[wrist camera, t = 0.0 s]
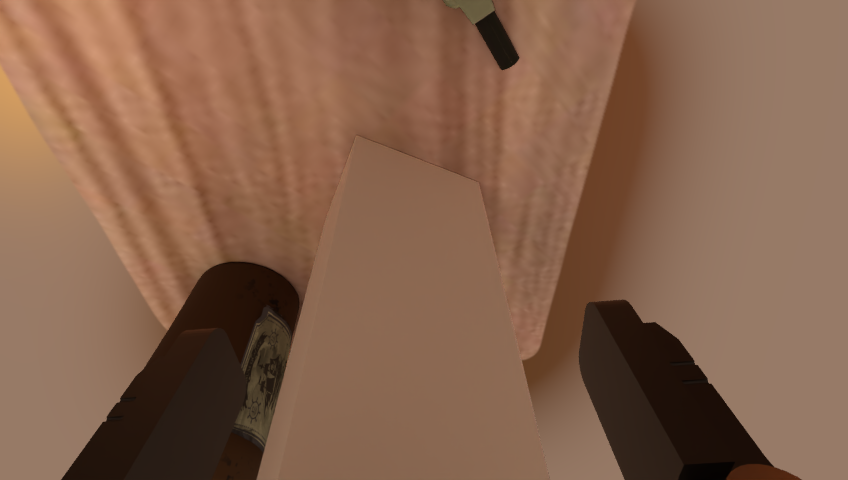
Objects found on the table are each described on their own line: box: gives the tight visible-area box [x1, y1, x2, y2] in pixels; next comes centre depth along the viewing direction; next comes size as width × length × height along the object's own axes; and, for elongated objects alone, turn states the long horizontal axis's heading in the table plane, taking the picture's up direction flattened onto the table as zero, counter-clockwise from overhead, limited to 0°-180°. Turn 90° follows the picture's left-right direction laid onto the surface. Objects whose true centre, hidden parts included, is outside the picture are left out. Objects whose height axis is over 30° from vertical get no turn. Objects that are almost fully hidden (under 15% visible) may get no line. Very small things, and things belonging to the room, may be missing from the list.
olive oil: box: [143, 263, 299, 480], centre depth 31 cm, size 11×11×25 cm
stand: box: [257, 135, 550, 480], centre depth 21 cm, size 8×10×32 cm
